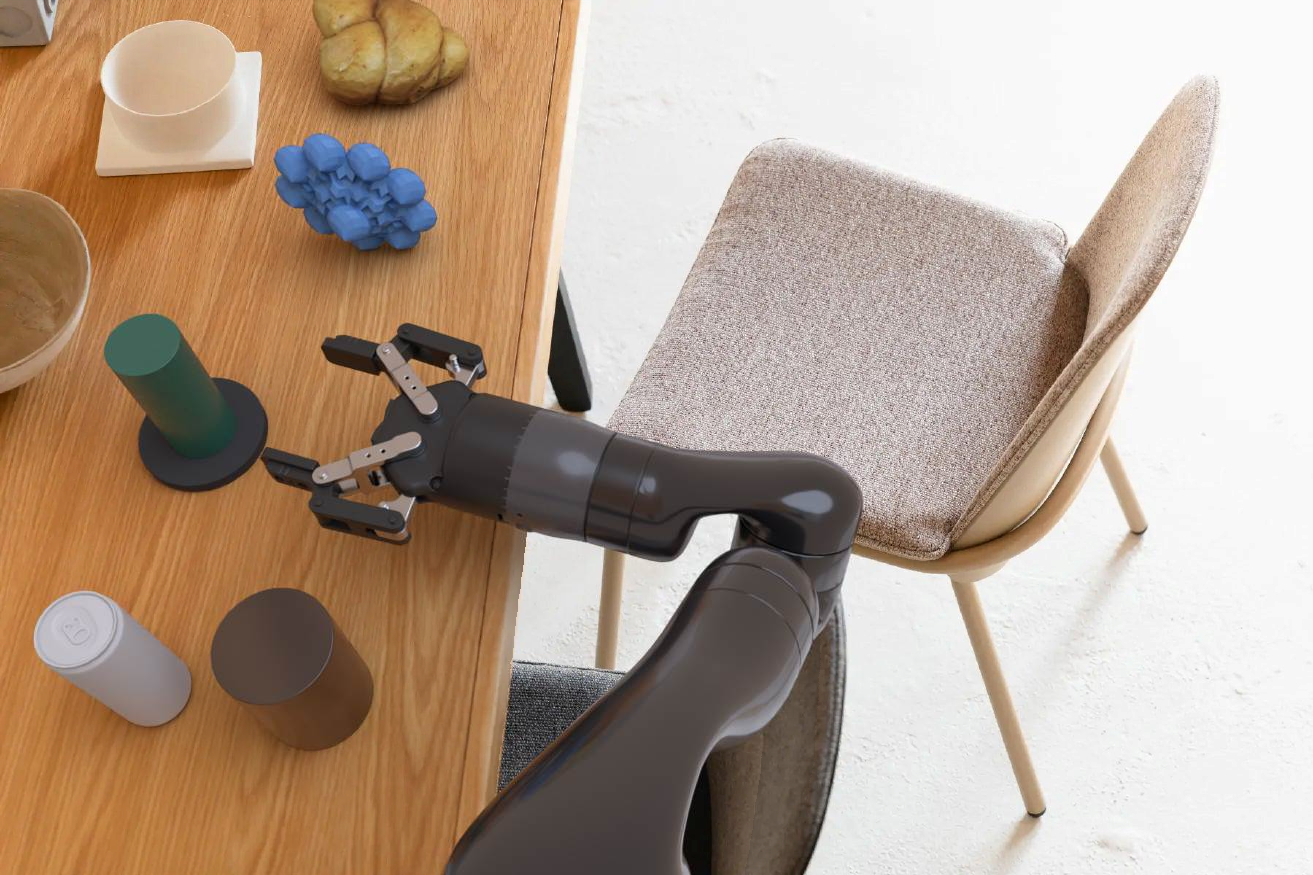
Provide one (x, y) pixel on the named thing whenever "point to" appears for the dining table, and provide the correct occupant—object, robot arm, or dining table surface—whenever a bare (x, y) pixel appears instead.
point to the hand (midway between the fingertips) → (296, 402)
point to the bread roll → (385, 50)
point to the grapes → (353, 193)
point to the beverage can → (112, 658)
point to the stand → (292, 668)
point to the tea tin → (170, 385)
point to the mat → (216, 467)
